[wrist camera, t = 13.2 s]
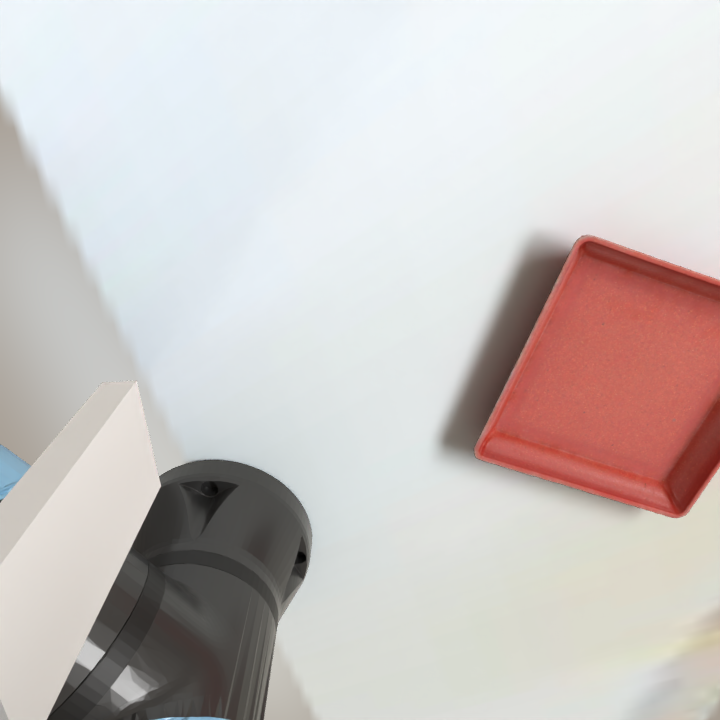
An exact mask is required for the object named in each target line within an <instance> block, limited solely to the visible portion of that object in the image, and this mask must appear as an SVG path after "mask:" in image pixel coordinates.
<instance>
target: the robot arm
mask: <svg viewBox="0 0 720 720" xmlns="http://www.w3.org/2000/svg"><path fill="white" fill-rule="evenodd" d="M311 546H312V532H311V526H310V522H309V519H308V516H307V514H306V512H305V510H304V508H303V506H302V504H301V503H300V501H299V500H298V499H297V497H296V496H295V495H294V494H293V493H292V492H291V491H290V490H289V489H288V488H287V487H286V486H285V485H284V484H282V483H281V482H280V481H278V480H277V479H276V478H274V477H272V476H271V475H269V474H267V473H265V472H263V471H261V470H259V469H256V468H254V467H251V466H248V465H245V464H241V463H236V462H231V461H222V460H205V461H197V462H191V463H188V464H184V465H181V466H178V467H176V468H173V469H171V470H169V471H167V472H165V473H164V474H162V475H161V476H159V475H158V471H157V467H156V462H155V458H154V453H153V449H152V445H151V440H150V436H149V431H148V427H147V423H146V418H145V414H144V410H143V405H142V401H141V397H140V392H139V388H138V384H137V380H135V381H119V382H103V383H101V384H100V386H99V387H98V388H97V389H96V390H95V391H94V393H93V394H92V395H91V396H90V397H89V399H88V400H87V401H86V402H85V403H84V404H83V406H82V407H81V408H80V409H79V411H78V412H77V413H76V414H75V415H74V416H73V417H72V419H71V420H70V421H69V422H68V423H67V425H66V426H65V427H64V428H63V429H62V431H61V432H60V433H59V434H58V435H57V436H56V438H55V439H54V440H53V441H52V442H51V443H50V445H49V446H48V447H47V448H46V449H45V451H44V452H43V453H42V454H41V455H40V456H39V458H38V459H37V460H36V461H35V462H34V464H33V465H32V466H30V465H29V464H27V463H26V462H25V461H23V460H21V459H20V458H19V457H18V456H16V455H15V454H14V453H12V452H11V451H9V450H8V449H7V448H6V447H4V446H2V445H0V720H264V713H265V707H266V700H267V694H268V687H269V680H270V673H271V666H272V659H273V652H274V646H275V639H276V631H277V626H278V622H279V620H280V618H281V617H282V615H283V614H284V612H285V610H286V609H287V607H288V605H289V604H290V602H291V601H292V599H293V597H294V596H295V594H296V593H297V591H298V589H299V588H300V586H301V584H302V583H303V581H304V578H305V576H306V573H307V570H308V567H309V561H310V554H311Z"/></svg>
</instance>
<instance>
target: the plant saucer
mask: <svg viewBox="0 0 720 720" xmlns="http://www.w3.org/2000/svg"><path fill="white" fill-rule="evenodd" d="M474 455H475V457H476V458H477V459H479V460H482V461H485V462H488V463H492V464H496V465H499V466H501V467H505V468H508V469H511V470H515V471H518V472H522V473H525V474H528V475H532V476H536V477H539V478H542V479H545V480H548V481H551V482H555V483H559V484H562V485H565V486H569V487H571V488H575V489H579V490H582V491H585V492H588V493H591V494H594V495H598V496H602V497H605V498H609V499H612V500H615V501H619V502H622V503H625V504H628V505H632V506H635V507H638V508H642V509H645V510H648V511H652V512H655V513H657V514H662V515H665V516H668V517H672V518H680V517H682V516H685V515H686V514H687V513H688V512H689V511H690V509H691V508H692V507H693V505H694V504H695V502H696V501H697V499H698V498H699V497H700V495H701V494H702V492H703V491H704V489H705V488H706V486H707V485H708V483H709V482H710V480H711V479H712V477H713V476H714V475H715V473H716V472H717V470H718V469H719V468H720V280H717V279H715V278H712V277H709V276H706V275H703V274H700V273H697V272H694V271H692V270H689V269H686V268H683V267H681V266H677V265H674V264H671V263H669V262H666V261H663V260H660V259H657V258H654V257H652V256H649V255H646V254H644V253H641V252H638V251H635V250H632V249H629V248H626V247H624V246H621V245H618V244H615V243H613V242H610V241H607V240H604V239H601V238H598V237H595V236H592V235H585V236H582V237H580V238H579V239H578V240H577V241H576V242H575V244H574V245H573V247H572V249H571V251H570V253H569V255H568V257H567V259H566V261H565V264H564V266H563V268H562V270H561V272H560V274H559V276H558V278H557V280H556V282H555V284H554V286H553V288H552V290H551V292H550V294H549V296H548V298H547V301H546V303H545V305H544V307H543V309H542V311H541V313H540V315H539V317H538V319H537V321H536V323H535V325H534V327H533V329H532V331H531V333H530V335H529V337H528V339H527V341H526V343H525V346H524V348H523V350H522V352H521V354H520V356H519V358H518V360H517V362H516V364H515V366H514V368H513V370H512V372H511V374H510V376H509V378H508V380H507V382H506V384H505V386H504V388H503V390H502V392H501V394H500V396H499V398H498V400H497V402H496V404H495V406H494V408H493V411H492V412H491V414H490V416H489V418H488V421H487V423H486V425H485V427H484V428H483V430H482V432H481V434H480V437H479V438H478V440H477V442H476V445H475V447H474Z"/></svg>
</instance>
